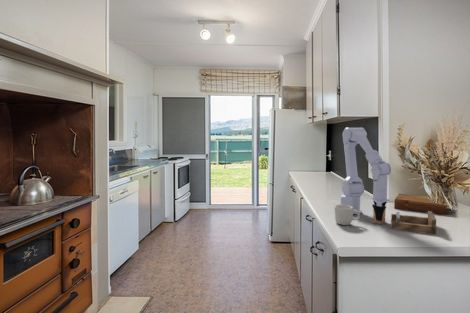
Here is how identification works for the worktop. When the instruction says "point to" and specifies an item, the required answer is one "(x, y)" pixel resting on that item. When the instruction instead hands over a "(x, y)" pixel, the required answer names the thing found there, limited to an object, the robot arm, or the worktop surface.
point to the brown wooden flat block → (418, 204)
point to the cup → (345, 214)
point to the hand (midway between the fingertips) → (379, 218)
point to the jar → (379, 221)
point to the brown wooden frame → (408, 226)
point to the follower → (397, 217)
